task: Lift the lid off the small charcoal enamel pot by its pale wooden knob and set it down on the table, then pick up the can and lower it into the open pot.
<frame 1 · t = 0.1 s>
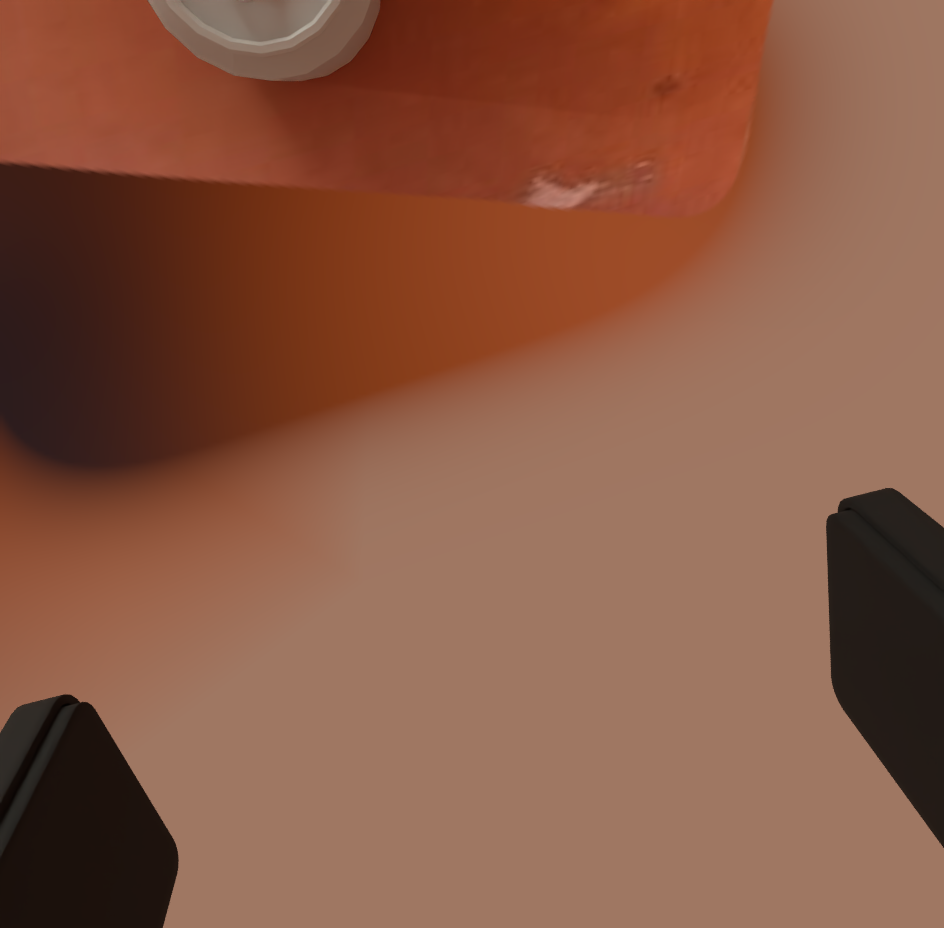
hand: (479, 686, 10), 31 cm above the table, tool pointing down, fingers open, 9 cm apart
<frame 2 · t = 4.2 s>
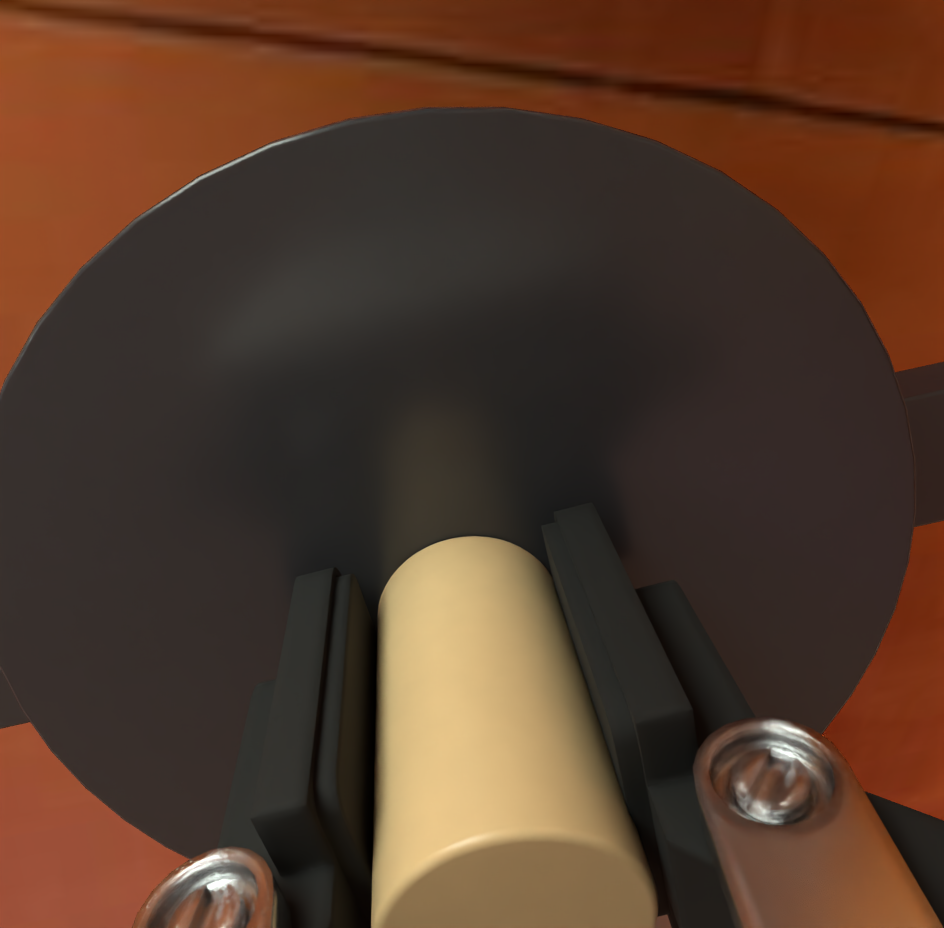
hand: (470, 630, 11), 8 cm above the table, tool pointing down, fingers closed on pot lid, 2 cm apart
pot lid: (465, 591, 12), point 7 cm above the table, touching gripper, pot
pot: (437, 407, 18), on the table
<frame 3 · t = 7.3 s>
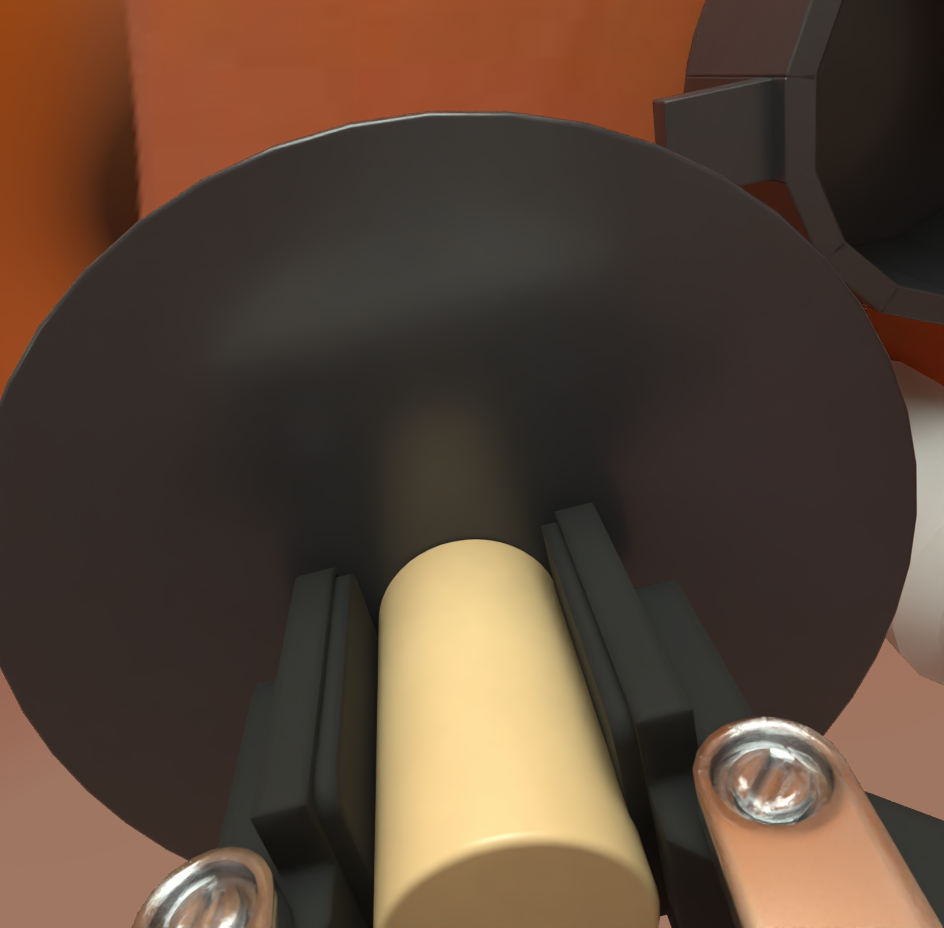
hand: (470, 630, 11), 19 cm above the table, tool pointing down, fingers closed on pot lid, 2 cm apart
can: (836, 437, 32), on the table
pot lid: (466, 594, 12), point 18 cm above the table, touching gripper
pot: (866, 78, 26), on the table
when the fingers open (1 cm above the table, at t = 10.6 s): pot lid stays where it is, point 1 cm above the table.
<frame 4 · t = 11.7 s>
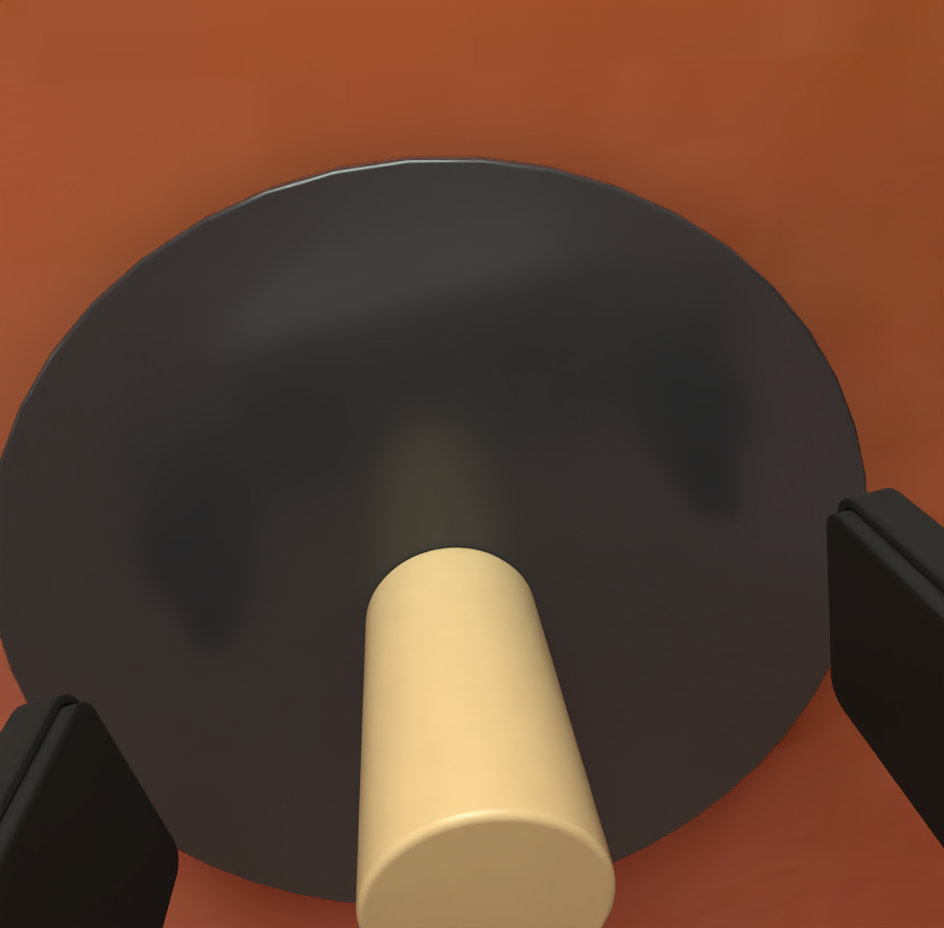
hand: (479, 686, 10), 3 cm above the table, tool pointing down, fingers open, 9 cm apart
pot lid: (448, 599, 13), point 1 cm above the table
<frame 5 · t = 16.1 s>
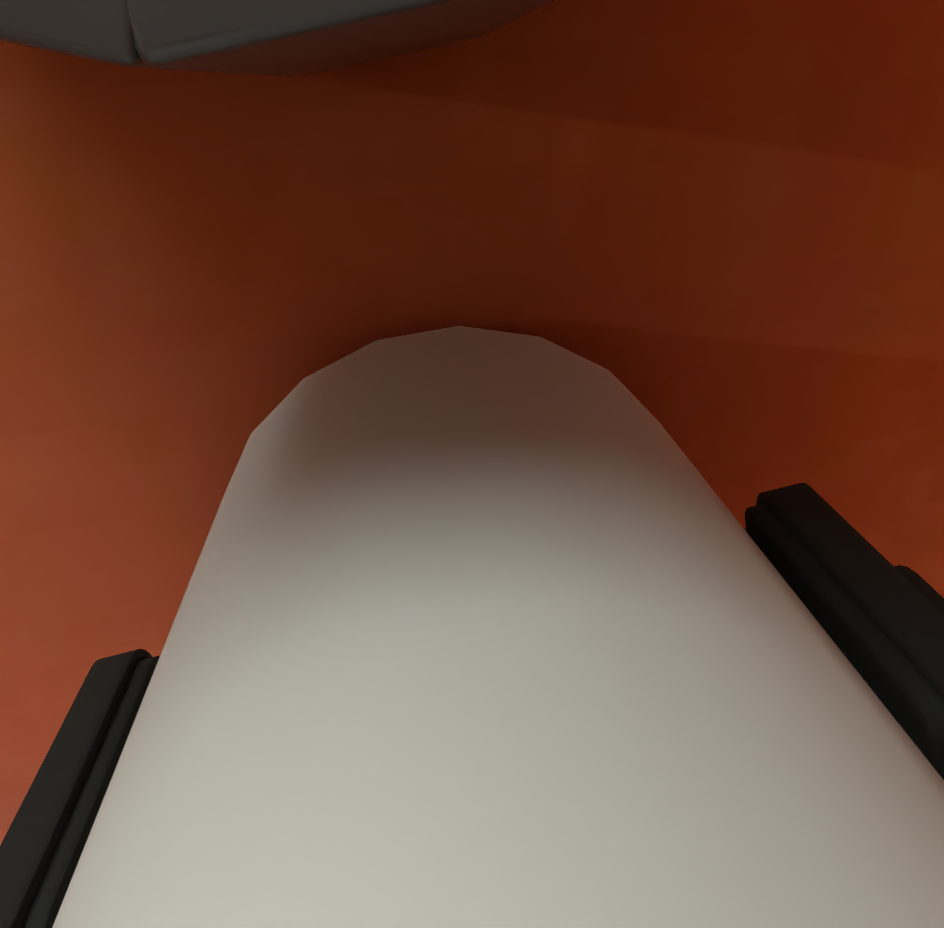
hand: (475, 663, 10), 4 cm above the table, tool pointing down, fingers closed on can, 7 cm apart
can: (454, 519, 14), on the table, touching gripper
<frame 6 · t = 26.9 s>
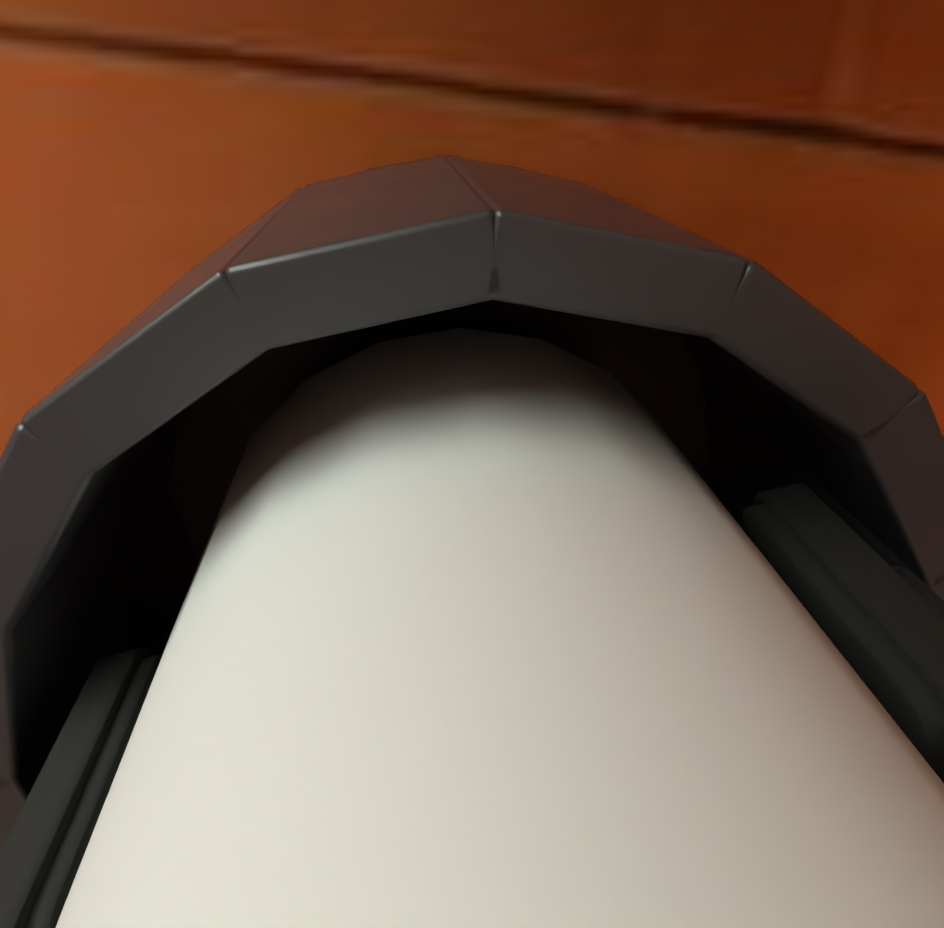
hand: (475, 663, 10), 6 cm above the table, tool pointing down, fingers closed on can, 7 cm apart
can: (454, 521, 14), point 3 cm above the table, touching gripper
pot: (448, 477, 16), on the table
when the fingers open (7 cm above the table, at t = 31.9 s): can drops 3 cm, resting on pot.
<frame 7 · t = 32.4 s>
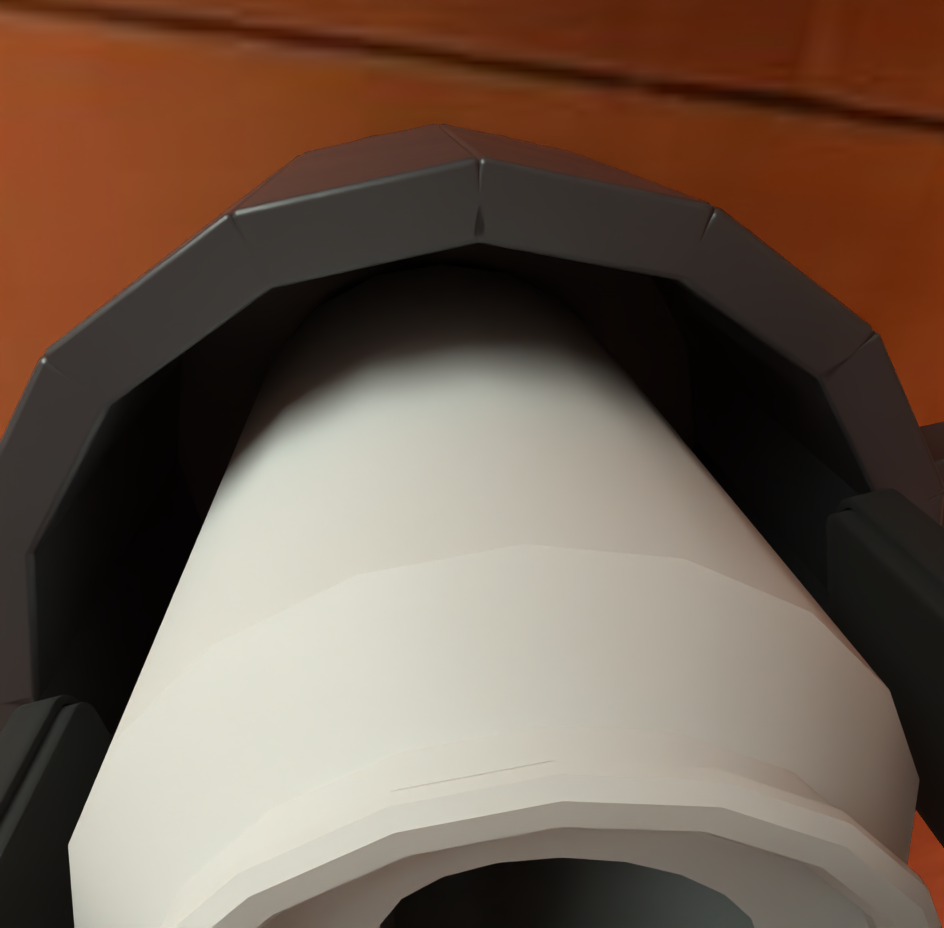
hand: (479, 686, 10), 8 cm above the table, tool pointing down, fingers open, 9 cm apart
can: (440, 434, 16), resting on pot
pot: (442, 439, 17), on the table
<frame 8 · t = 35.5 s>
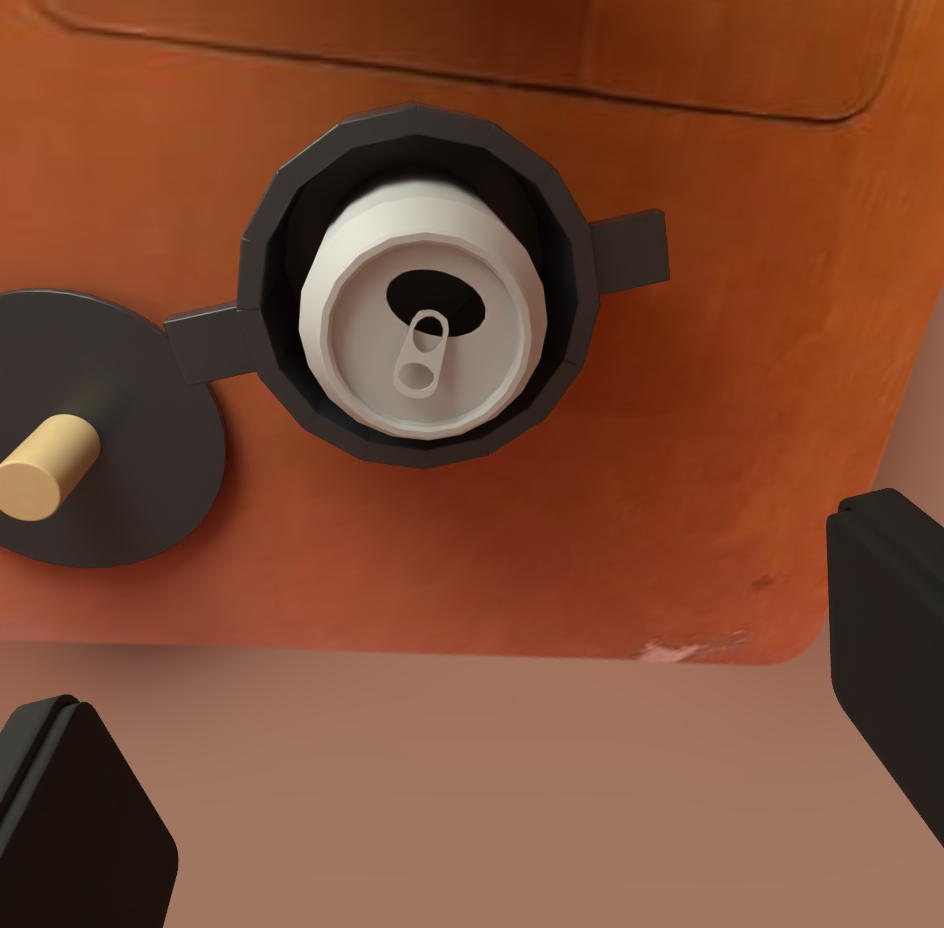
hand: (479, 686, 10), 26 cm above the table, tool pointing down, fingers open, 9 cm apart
can: (414, 257, 33), resting on pot
pot lid: (74, 436, 35), point 1 cm above the table
pot: (415, 261, 33), on the table
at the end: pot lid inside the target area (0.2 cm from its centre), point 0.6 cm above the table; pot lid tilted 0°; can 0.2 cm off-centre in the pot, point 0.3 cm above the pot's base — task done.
